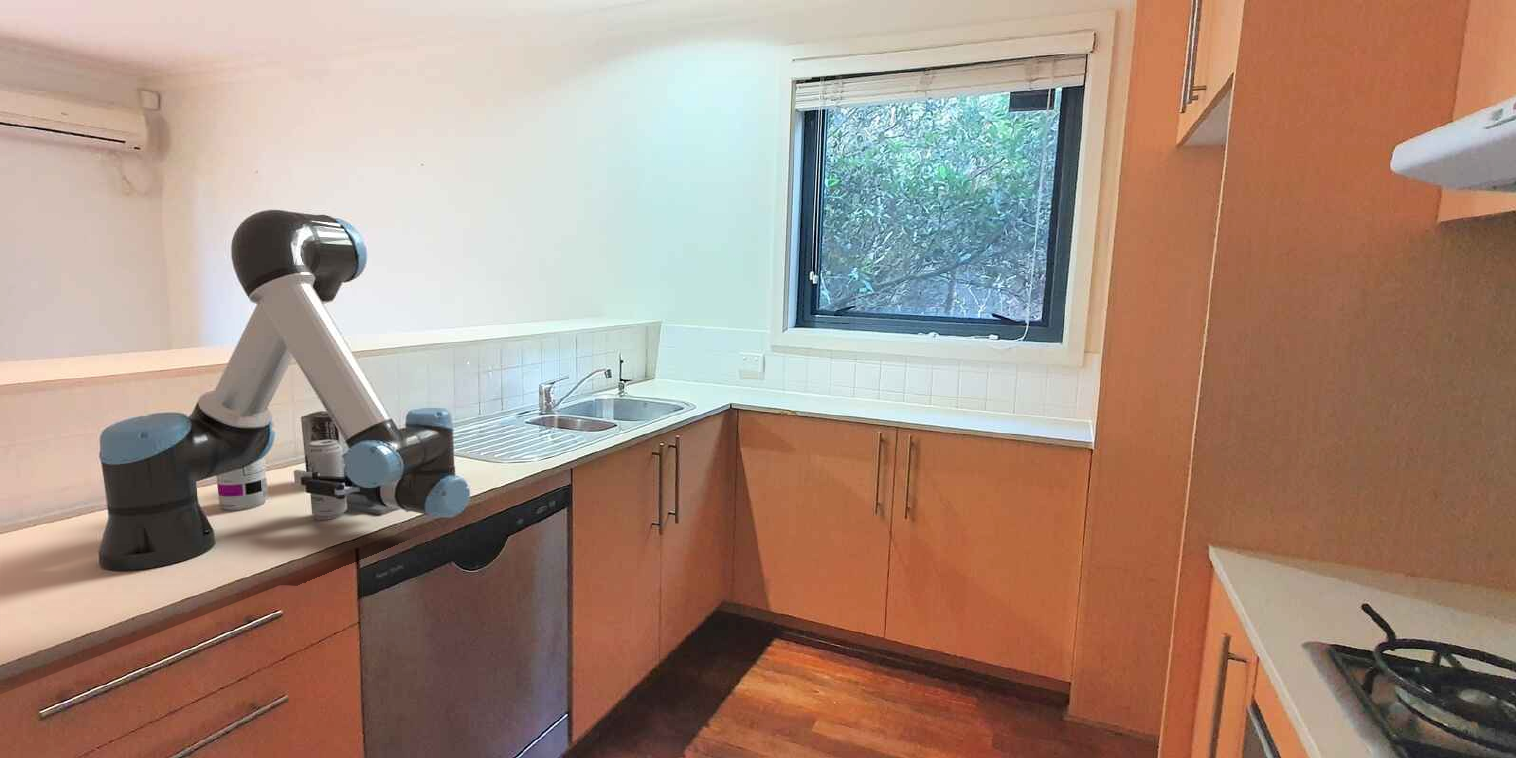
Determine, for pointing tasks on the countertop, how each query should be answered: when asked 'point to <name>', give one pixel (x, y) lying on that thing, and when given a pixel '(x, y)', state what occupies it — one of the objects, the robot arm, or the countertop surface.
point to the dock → (366, 505)
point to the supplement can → (243, 487)
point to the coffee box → (320, 431)
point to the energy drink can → (327, 463)
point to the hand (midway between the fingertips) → (312, 472)
